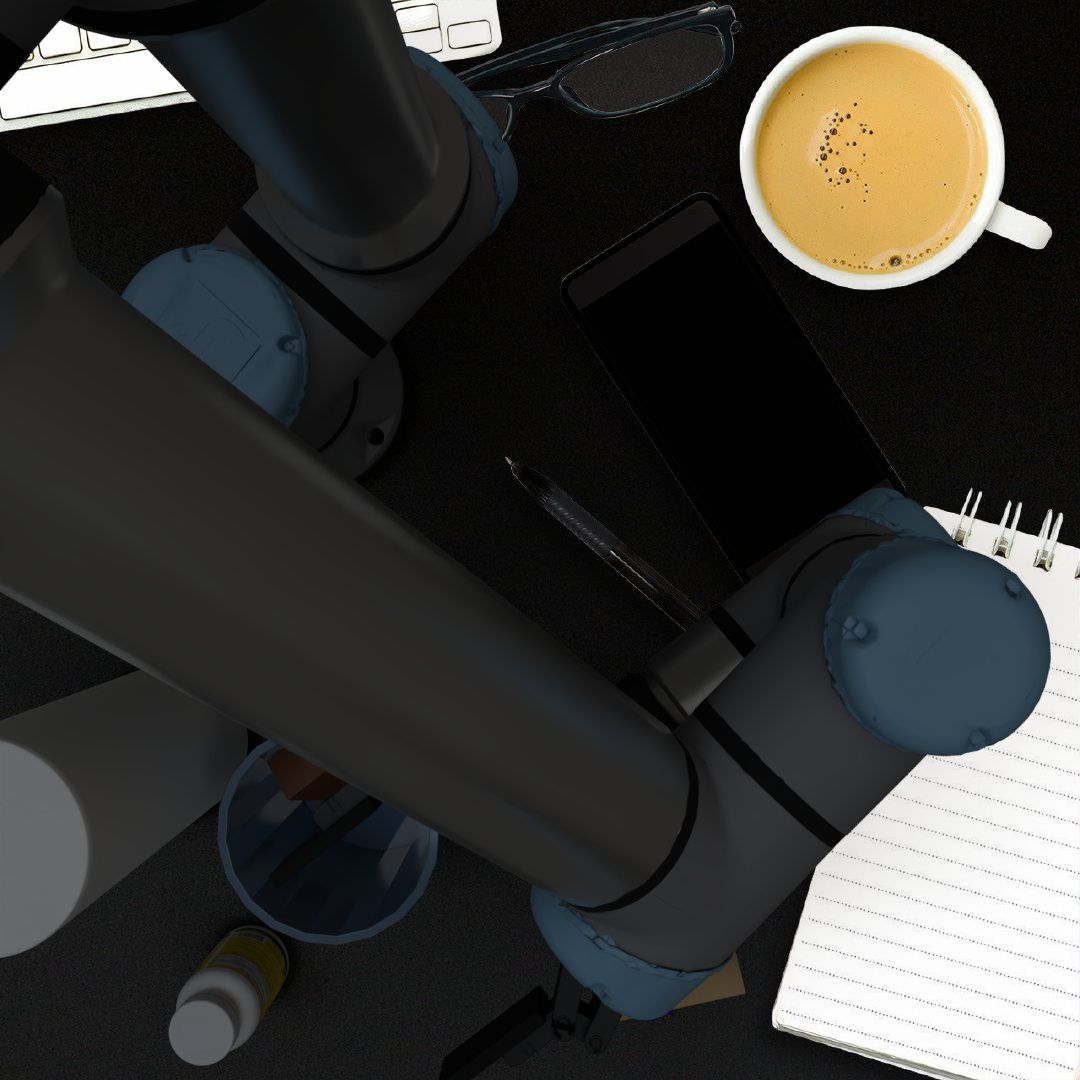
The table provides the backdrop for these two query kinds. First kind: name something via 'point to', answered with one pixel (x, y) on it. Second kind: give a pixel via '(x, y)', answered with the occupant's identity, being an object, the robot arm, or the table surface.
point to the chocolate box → (302, 777)
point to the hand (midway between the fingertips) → (362, 975)
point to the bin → (319, 860)
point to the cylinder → (100, 794)
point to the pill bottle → (228, 995)
